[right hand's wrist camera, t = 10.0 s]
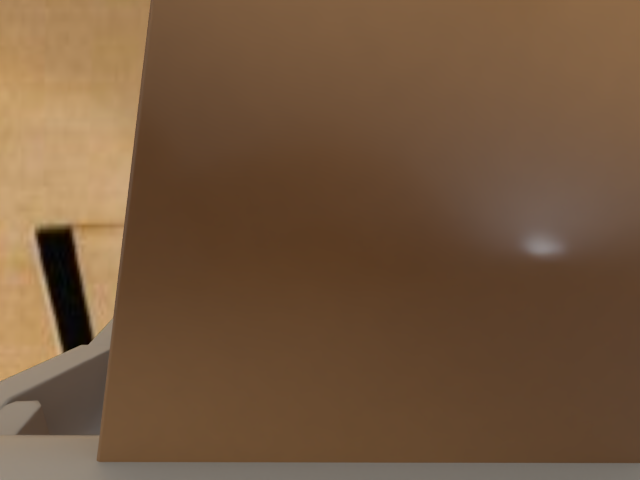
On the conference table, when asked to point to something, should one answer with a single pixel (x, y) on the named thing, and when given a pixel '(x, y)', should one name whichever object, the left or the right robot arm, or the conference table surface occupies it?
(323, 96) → the bar
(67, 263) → the conference table surface
